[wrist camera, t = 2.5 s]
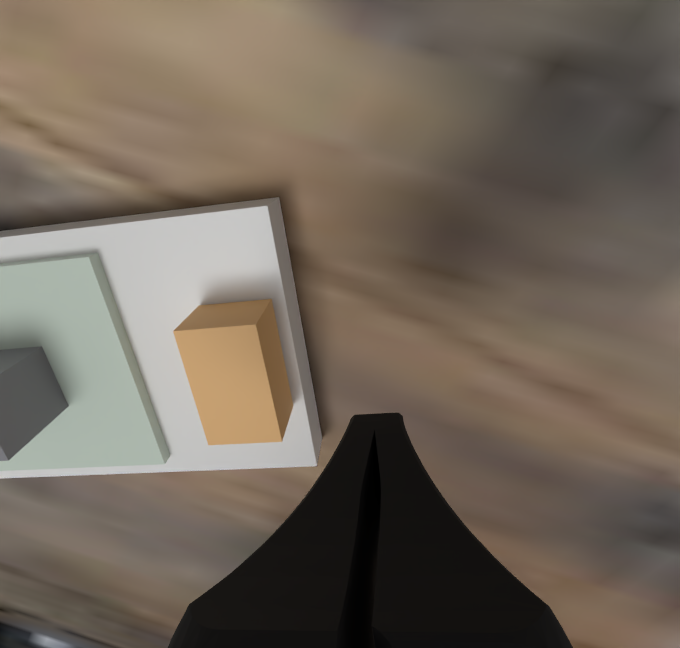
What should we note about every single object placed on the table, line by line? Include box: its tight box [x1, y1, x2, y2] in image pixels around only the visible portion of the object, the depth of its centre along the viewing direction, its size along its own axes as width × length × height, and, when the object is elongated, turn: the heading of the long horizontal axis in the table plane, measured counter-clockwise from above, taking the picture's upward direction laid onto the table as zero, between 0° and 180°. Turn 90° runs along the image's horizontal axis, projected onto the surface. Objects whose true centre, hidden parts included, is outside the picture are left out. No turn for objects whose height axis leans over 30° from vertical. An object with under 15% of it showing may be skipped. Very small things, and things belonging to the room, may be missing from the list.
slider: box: [173, 299, 293, 445], centre depth 17 cm, size 3×5×2 cm, turn 7°
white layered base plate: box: [0, 197, 322, 478], centre depth 20 cm, size 18×12×2 cm, turn 97°
